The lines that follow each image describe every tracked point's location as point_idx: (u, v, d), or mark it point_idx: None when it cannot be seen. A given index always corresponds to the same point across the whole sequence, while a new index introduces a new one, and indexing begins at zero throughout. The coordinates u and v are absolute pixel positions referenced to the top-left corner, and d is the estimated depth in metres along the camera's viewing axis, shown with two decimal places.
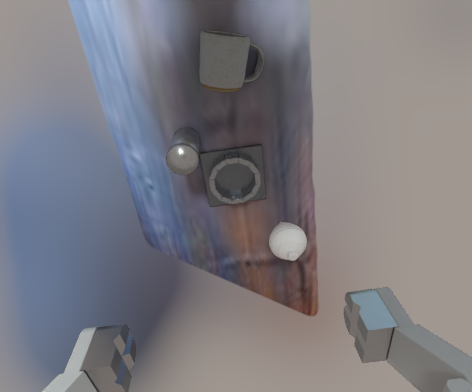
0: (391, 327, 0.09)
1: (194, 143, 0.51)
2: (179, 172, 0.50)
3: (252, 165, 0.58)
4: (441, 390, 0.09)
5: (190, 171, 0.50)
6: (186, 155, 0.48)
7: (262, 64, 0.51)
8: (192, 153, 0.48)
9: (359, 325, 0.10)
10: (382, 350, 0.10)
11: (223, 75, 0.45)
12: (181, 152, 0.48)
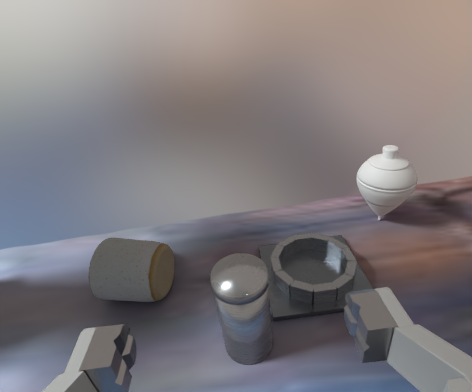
0: (391, 327, 0.09)
1: None
2: (261, 276, 0.26)
3: (282, 242, 0.41)
4: (441, 390, 0.09)
5: (260, 262, 0.28)
6: (228, 266, 0.27)
7: None
8: (226, 259, 0.28)
9: (359, 325, 0.10)
10: (382, 350, 0.10)
11: (139, 247, 0.36)
12: (221, 272, 0.27)
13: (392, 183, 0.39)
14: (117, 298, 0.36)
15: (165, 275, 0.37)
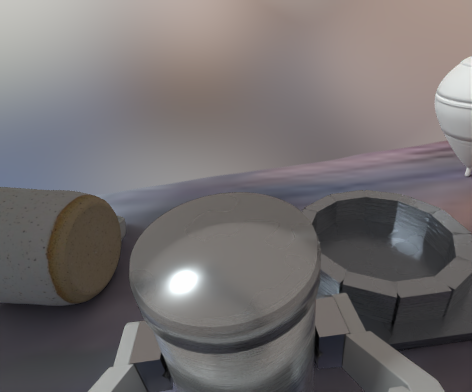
0: (343, 334, 0.09)
1: None
2: (301, 250, 0.08)
3: (312, 206, 0.22)
4: None
5: (289, 211, 0.09)
6: (194, 225, 0.09)
7: None
8: (189, 207, 0.10)
9: None
10: (336, 356, 0.10)
11: (38, 198, 0.18)
12: (169, 241, 0.08)
13: None
14: None
15: (95, 254, 0.19)
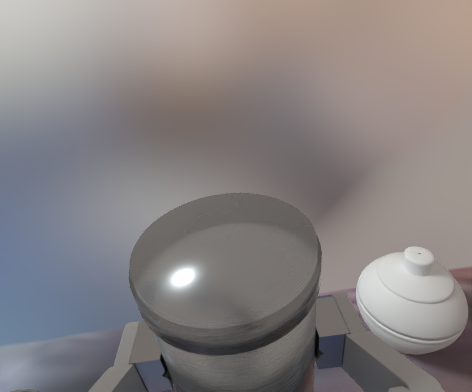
0: (343, 334, 0.09)
1: None
2: (301, 251, 0.08)
3: None
4: None
5: (289, 212, 0.09)
6: (194, 226, 0.09)
7: None
8: (189, 208, 0.10)
9: None
10: (336, 356, 0.10)
11: None
12: (169, 241, 0.08)
13: (424, 328, 0.21)
14: None
15: None
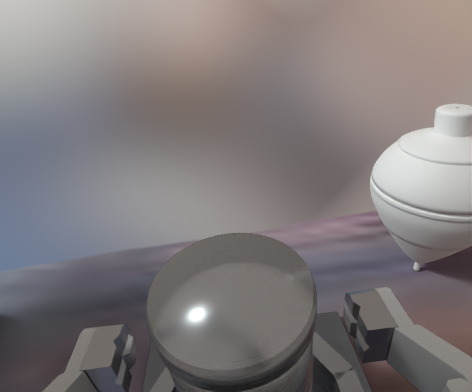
0: (391, 327, 0.09)
1: None
2: (298, 296, 0.09)
3: None
4: (441, 390, 0.09)
5: (288, 254, 0.10)
6: (203, 267, 0.10)
7: None
8: (198, 248, 0.11)
9: (359, 325, 0.10)
10: (382, 350, 0.10)
11: None
12: (181, 283, 0.10)
13: (467, 198, 0.15)
14: None
15: None
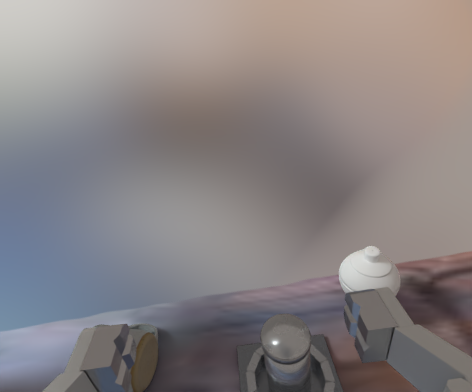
0: (391, 327, 0.09)
1: None
2: (305, 338, 0.31)
3: (259, 350, 0.39)
4: (441, 390, 0.09)
5: (302, 323, 0.32)
6: (275, 328, 0.32)
7: (145, 325, 0.46)
8: (272, 320, 0.33)
9: (360, 325, 0.10)
10: (382, 350, 0.10)
11: None
12: (270, 334, 0.32)
13: None
14: None
15: (148, 365, 0.38)
